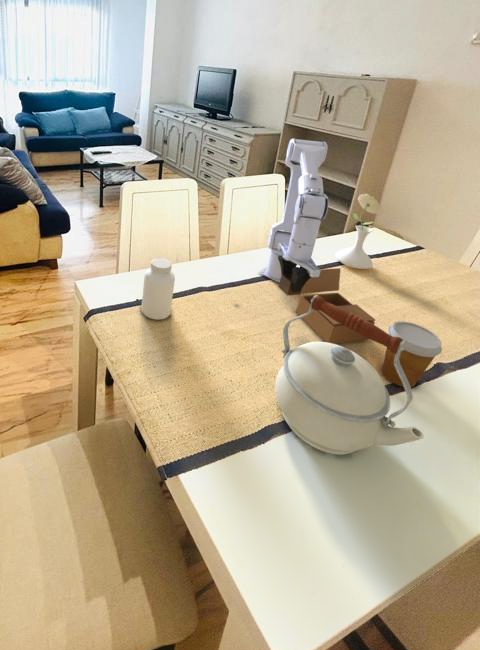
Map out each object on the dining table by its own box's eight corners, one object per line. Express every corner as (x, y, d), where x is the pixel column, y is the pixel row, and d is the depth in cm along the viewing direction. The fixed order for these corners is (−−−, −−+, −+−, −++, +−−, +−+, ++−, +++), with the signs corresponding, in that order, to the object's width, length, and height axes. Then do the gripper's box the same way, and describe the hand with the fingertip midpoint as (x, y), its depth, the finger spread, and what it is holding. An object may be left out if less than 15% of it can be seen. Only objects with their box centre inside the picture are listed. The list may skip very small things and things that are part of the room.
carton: (295, 312, 107) (300, 293, 105) (332, 308, 110) (338, 289, 107) (327, 344, 95) (334, 324, 93) (368, 339, 98) (376, 319, 96)
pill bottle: (174, 307, 106) (180, 260, 100) (164, 324, 99) (171, 274, 94) (147, 299, 109) (152, 252, 103) (136, 314, 102) (140, 266, 96)
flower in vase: (378, 273, 130) (403, 204, 121) (345, 271, 130) (366, 202, 120) (356, 254, 142) (377, 190, 133) (326, 252, 142) (344, 189, 133)
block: (278, 286, 104) (281, 274, 102) (291, 286, 105) (294, 273, 103) (287, 295, 100) (290, 282, 99) (300, 294, 101) (304, 281, 99)
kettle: (244, 403, 78) (268, 300, 68) (293, 365, 88) (321, 272, 79) (377, 517, 59) (436, 398, 50) (420, 453, 70) (476, 344, 60)
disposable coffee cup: (414, 367, 90) (433, 326, 85) (430, 399, 81) (452, 355, 77) (368, 356, 92) (384, 315, 88) (379, 386, 84) (397, 342, 79)
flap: (301, 293, 105) (300, 293, 105) (338, 290, 107) (337, 290, 108) (302, 271, 104) (301, 270, 104) (340, 268, 106) (339, 268, 107)
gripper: (272, 228, 103) (262, 272, 108) (307, 255, 89) (293, 303, 94) (295, 227, 104) (284, 271, 109) (333, 253, 91) (318, 301, 96)
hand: (290, 286), depth 102 cm, fingers closed on block, 4 cm apart
